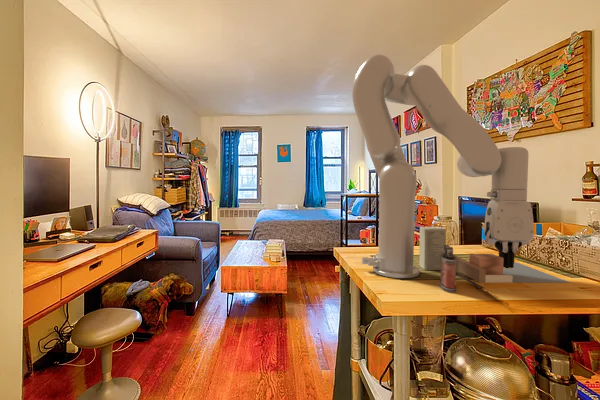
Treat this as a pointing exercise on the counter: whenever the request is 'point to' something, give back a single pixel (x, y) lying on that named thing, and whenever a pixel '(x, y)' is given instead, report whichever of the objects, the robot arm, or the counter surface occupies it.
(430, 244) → the skincare box
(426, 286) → the counter surface
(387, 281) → the counter surface
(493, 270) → the block
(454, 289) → the lighter
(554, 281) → the trap deck
